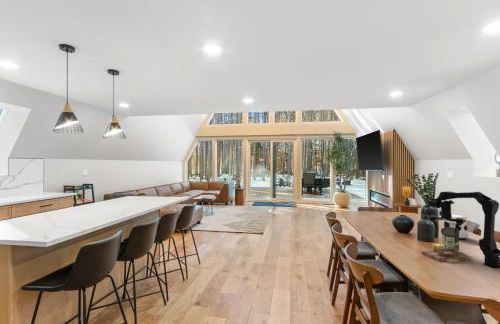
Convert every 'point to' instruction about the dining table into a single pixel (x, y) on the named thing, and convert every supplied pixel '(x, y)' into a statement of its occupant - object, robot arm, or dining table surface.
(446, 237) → the coffee can
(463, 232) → the milk container
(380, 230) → the dining table surface
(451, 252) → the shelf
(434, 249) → the bight saddle
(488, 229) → the robot arm
